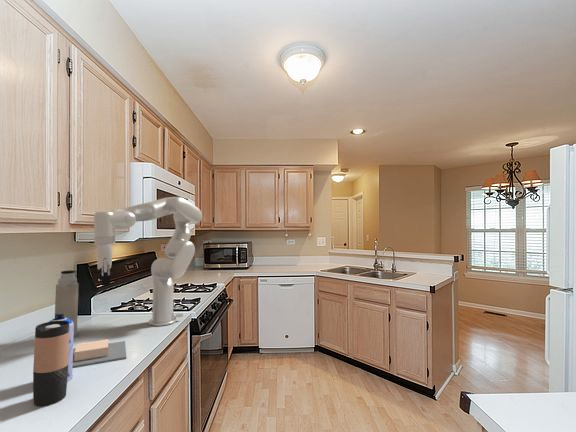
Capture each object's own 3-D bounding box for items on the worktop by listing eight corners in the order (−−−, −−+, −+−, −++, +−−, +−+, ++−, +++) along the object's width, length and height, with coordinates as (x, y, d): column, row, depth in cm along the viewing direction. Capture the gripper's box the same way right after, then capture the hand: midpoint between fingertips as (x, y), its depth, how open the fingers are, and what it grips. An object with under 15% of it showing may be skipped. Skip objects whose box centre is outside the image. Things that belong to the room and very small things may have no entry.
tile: (108, 339, 120) (108, 347, 113) (108, 347, 120) (107, 356, 112) (77, 343, 115) (74, 352, 108) (76, 352, 115) (74, 361, 108)
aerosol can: (33, 386, 92) (36, 317, 93) (55, 373, 100) (57, 310, 101) (59, 387, 92) (62, 317, 92) (78, 374, 100) (80, 310, 100)
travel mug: (62, 388, 91) (64, 318, 91) (71, 398, 86) (73, 324, 87) (28, 400, 85) (31, 324, 86) (36, 410, 80) (39, 330, 81)
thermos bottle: (50, 337, 132) (52, 271, 134) (71, 332, 139) (73, 269, 140) (59, 341, 128) (61, 272, 129) (80, 335, 135) (82, 270, 136)
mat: (124, 342, 128) (125, 340, 128) (126, 358, 112) (126, 356, 112) (58, 352, 117) (58, 350, 117) (49, 371, 101) (49, 369, 101)
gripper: (94, 240, 135) (95, 283, 136) (93, 242, 123) (94, 289, 123) (114, 239, 139) (115, 280, 139) (115, 241, 126) (116, 287, 126)
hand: (105, 285), depth 131 cm, fingers closed
